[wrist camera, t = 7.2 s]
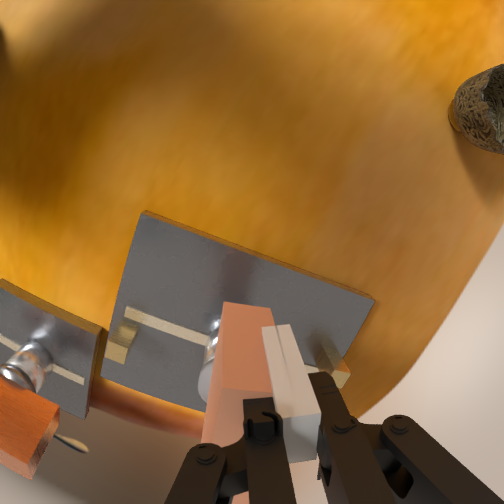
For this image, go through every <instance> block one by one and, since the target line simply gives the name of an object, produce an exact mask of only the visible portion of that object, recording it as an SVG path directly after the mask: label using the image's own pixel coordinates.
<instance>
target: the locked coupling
mask: <svg viewBox="0 0 504 504" xmlns="http://www.w3.org/2000/svg"><path fill="white" fill-rule="evenodd" d="M101 332H102V327H101V326H98V325H96V324H94V323H91V322H89V321H87V320H85V319H82V318H80V317H78V316H76V315H73V314H71V313H69V312H67V311H65V310H63V309H61V308H58V307H56V306H54V305H52V304H50V303H48V302H46V301H44V300H42V299H40V298H38V297H36V296H34V295H32V294H30V293H28V292H26V291H24V290H23V289H21V288H19V287H17V286H15V285H13V284H11V283H9V282H8V281H6V280H4V279H0V463H1V464H3V465H5V466H6V467H8V468H10V469H12V470H13V471H15V472H17V473H18V474H20V475H22V476H24V477H26V478H28V479H29V480H31V479H32V477H33V475H34V473H35V471H36V469H37V467H38V464H39V462H40V460H41V458H42V456H43V454H44V452H45V450H46V448H47V446H48V444H49V442H50V440H51V439H52V437H53V435H54V433H55V431H56V429H57V427H58V425H59V408H60V409H62V410H64V411H66V412H68V413H70V414H72V415H75V416H77V417H79V418H82V419H84V420H85V418H86V416H87V414H88V412H89V405H90V397H91V390H92V383H93V377H94V370H95V364H96V358H97V353H98V347H99V342H100V337H101Z"/></svg>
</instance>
